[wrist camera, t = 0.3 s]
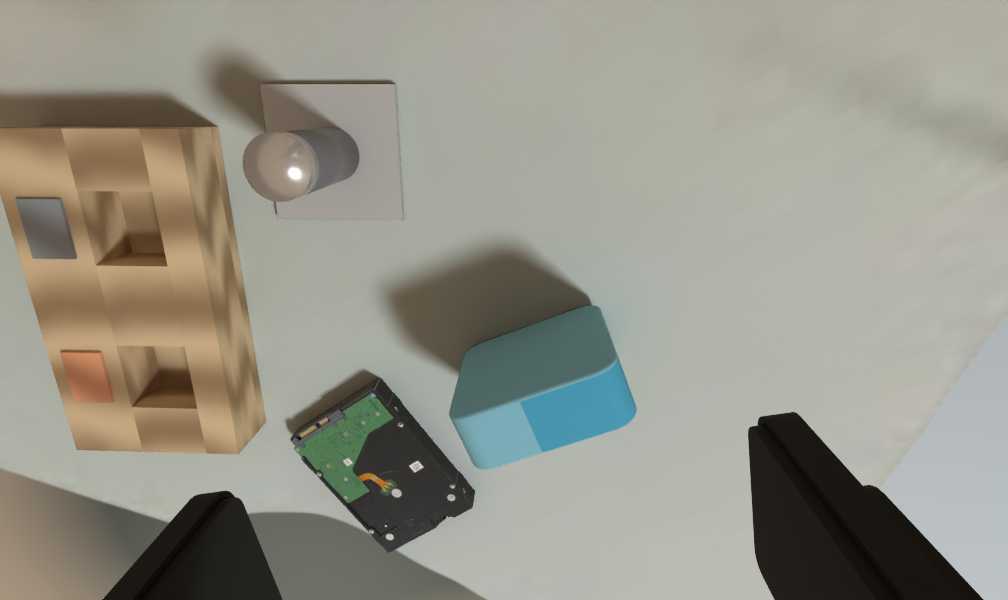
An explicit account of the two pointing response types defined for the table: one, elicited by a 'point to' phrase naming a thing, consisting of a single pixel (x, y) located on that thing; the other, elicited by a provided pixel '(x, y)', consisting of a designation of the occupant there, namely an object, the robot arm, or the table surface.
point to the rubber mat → (372, 128)
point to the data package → (540, 389)
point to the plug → (299, 161)
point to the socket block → (135, 283)
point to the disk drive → (383, 466)
